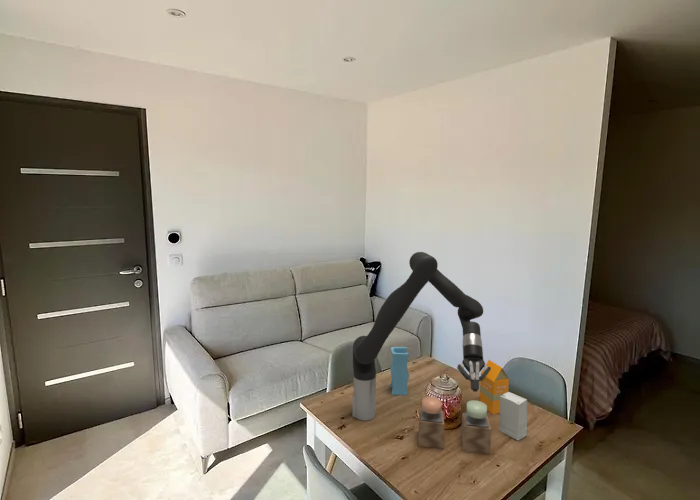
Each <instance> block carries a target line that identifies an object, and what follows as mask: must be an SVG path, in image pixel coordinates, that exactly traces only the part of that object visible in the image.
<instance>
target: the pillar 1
mask: <svg viewBox="0 0 700 500" xmlns="http://www.w3.org/2000/svg"><path fill="white" fill-rule="evenodd" d="M444 416H445V415H444V410H441V412H440V413H437V414H430V413H427V412H425V411H423V409H422V408H418V439H417V440H418V445H417V446H418V447H424V448H425V447H426V448H432V449H439V450H440V449H441V450H444V443H445V418H444Z"/></svg>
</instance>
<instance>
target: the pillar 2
mask: <svg viewBox="0 0 700 500" xmlns="http://www.w3.org/2000/svg"><path fill="white" fill-rule="evenodd" d="M460 436H461V443H462V450H463V452H468V453H475V454H482V455H491V441H492V440H491V439H492V438H491V437H492V427H491V424H490V420H489V417H488V415H487V416H486V417H485V418H482V419H477V418H473V417H471V416H469V415H468V414H467V412H462V413H461V433H460Z"/></svg>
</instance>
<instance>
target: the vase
mask: <svg viewBox="0 0 700 500" xmlns="http://www.w3.org/2000/svg"><path fill="white" fill-rule="evenodd" d="M390 351H391V365H390V367H389V369H390V375H391V376H390V377H391V380H390V381H391V382H390V386H389V387H390V388H391V396H407V395H408V394H409V391H408V390H409V389H408V382H409V378H410V374H409V370H408V359H409V356H410V353H409V352H408V346H393V347H390Z"/></svg>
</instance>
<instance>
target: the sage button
mask: <svg viewBox="0 0 700 500" xmlns="http://www.w3.org/2000/svg"><path fill="white" fill-rule="evenodd" d="M465 413H467V414H468V415H469V416H471V417H473V418H477V419H482V418H485V417H486V416H487V417H488V414H487V413H488V410H487V405H486V404H484V403H483V402H480V400H473V399H472V400H469V401H467V402H466V411H465Z"/></svg>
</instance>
